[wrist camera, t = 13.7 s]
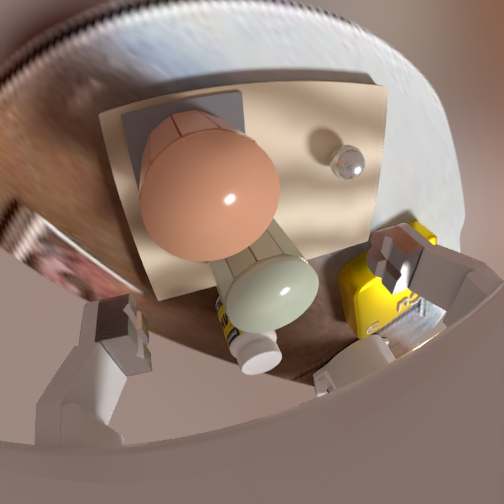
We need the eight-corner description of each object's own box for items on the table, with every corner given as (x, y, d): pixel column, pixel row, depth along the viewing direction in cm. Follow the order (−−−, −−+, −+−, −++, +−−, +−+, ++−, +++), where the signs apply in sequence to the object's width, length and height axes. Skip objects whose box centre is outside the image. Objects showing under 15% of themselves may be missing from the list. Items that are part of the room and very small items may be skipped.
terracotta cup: (239, 188, 20) (280, 243, 15) (154, 208, 19) (161, 275, 13) (231, 104, 16) (278, 122, 11) (135, 123, 15) (124, 152, 9)
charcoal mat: (248, 193, 21) (250, 195, 21) (146, 218, 20) (146, 220, 19) (240, 91, 16) (241, 91, 16) (121, 114, 15) (120, 115, 14)
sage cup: (276, 258, 26) (314, 316, 21) (210, 276, 25) (233, 342, 19) (275, 197, 22) (323, 250, 17) (197, 215, 21) (220, 279, 15)
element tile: (418, 214, 33) (442, 232, 30) (412, 278, 43) (429, 296, 40) (334, 268, 33) (355, 294, 30) (345, 324, 43) (360, 345, 40)
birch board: (360, 234, 31) (367, 241, 30) (156, 290, 26) (158, 301, 25) (376, 84, 20) (387, 87, 19) (102, 111, 15) (98, 114, 14)
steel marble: (349, 170, 23) (370, 184, 21) (321, 174, 22) (341, 189, 20) (351, 139, 21) (374, 149, 19) (322, 141, 21) (344, 152, 18)
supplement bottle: (216, 286, 28) (241, 354, 22) (259, 282, 30) (292, 343, 23) (212, 318, 31) (234, 381, 24) (252, 312, 32) (279, 371, 26)
